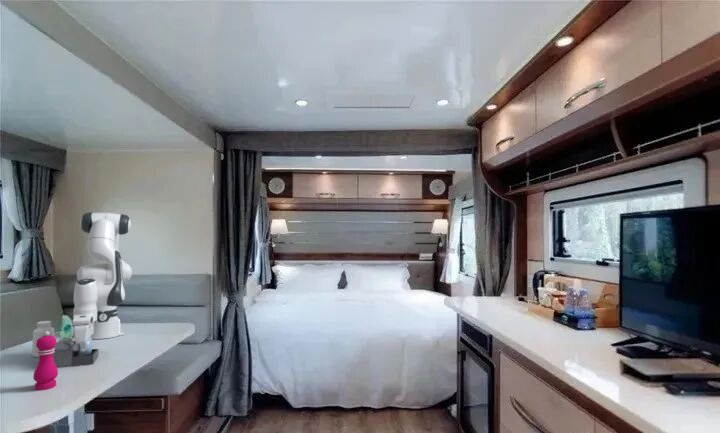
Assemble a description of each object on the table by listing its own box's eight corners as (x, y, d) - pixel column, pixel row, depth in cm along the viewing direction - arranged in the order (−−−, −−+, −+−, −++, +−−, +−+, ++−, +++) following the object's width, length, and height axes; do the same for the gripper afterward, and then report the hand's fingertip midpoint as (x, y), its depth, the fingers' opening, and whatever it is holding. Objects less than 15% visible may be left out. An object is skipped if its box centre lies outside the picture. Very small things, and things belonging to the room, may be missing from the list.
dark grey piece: (56, 360, 190) (57, 337, 190) (98, 356, 196) (98, 334, 196) (48, 368, 178) (48, 344, 179) (93, 364, 184) (93, 340, 185)
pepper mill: (41, 384, 161) (42, 329, 161) (62, 383, 161) (63, 328, 162) (28, 391, 154) (29, 333, 154) (49, 390, 154) (51, 333, 155)
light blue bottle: (79, 354, 190) (79, 333, 190) (92, 353, 192) (92, 332, 192) (76, 357, 185) (77, 336, 186) (90, 356, 187) (90, 335, 188)
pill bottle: (42, 358, 194) (43, 324, 195) (27, 357, 196) (28, 323, 196) (58, 353, 202) (58, 320, 202) (43, 352, 204) (44, 319, 204)
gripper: (81, 313, 198) (81, 344, 197) (71, 321, 179) (70, 356, 178) (98, 312, 200) (97, 342, 200) (89, 320, 181) (88, 354, 181)
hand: (84, 349), depth 189 cm, fingers closed on light blue bottle, 5 cm apart
